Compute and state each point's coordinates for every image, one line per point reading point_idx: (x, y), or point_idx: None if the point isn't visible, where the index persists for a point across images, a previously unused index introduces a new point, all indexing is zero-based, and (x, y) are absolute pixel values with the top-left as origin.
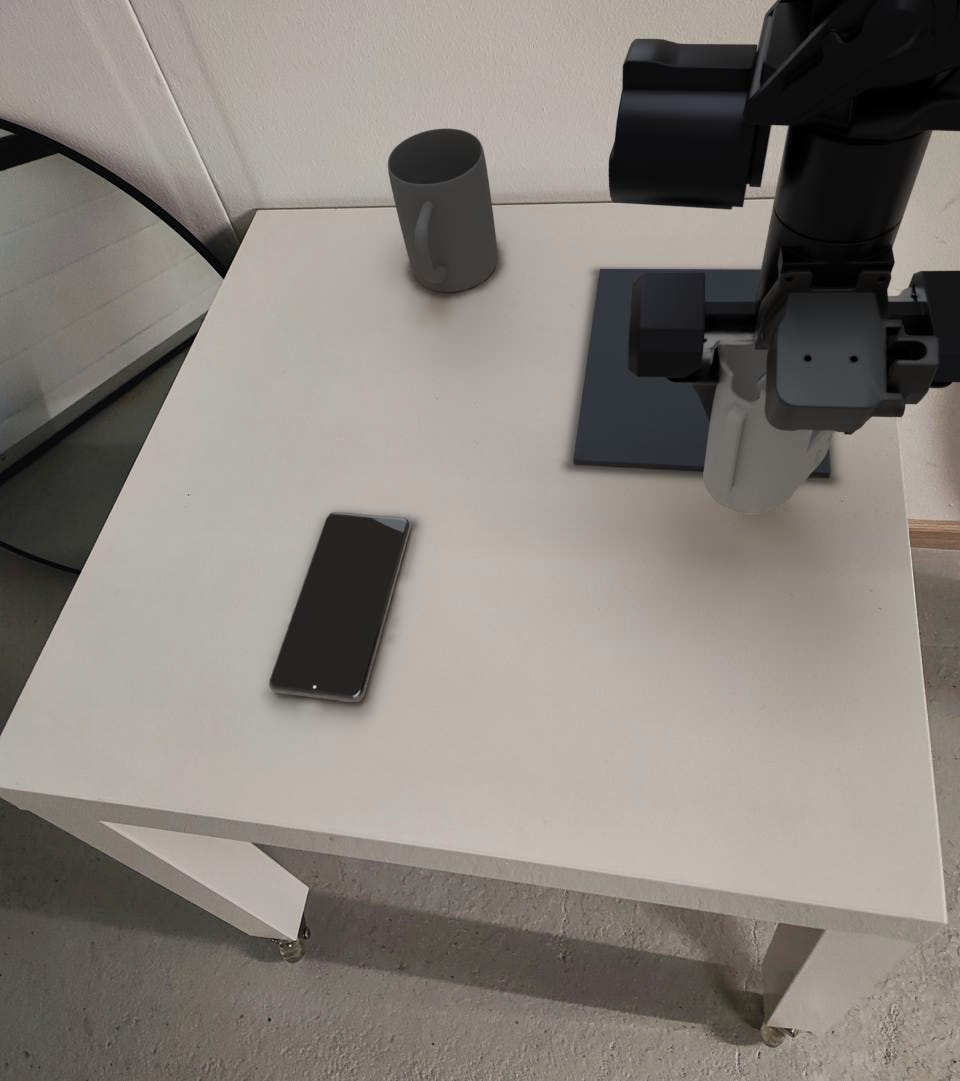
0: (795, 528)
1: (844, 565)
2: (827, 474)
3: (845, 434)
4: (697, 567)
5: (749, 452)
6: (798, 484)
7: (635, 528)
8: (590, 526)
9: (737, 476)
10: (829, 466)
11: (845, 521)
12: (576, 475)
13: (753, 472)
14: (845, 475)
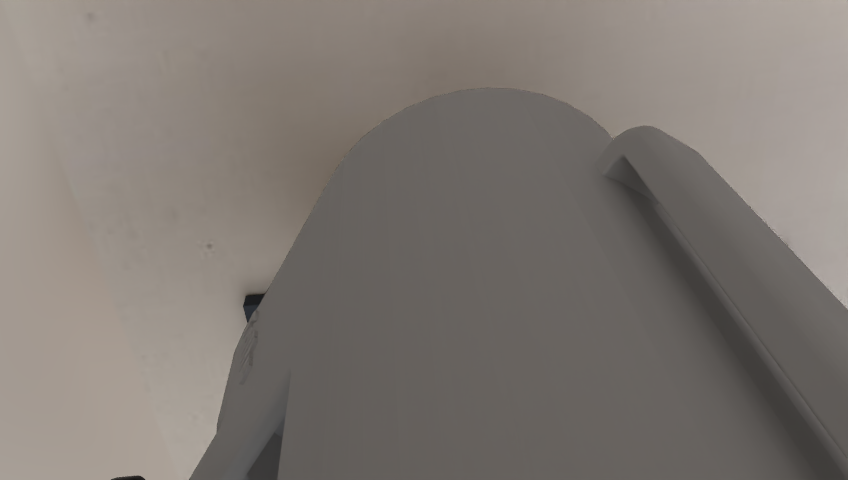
0: (296, 164)
1: (168, 81)
2: (249, 301)
3: (135, 476)
4: (520, 17)
5: (671, 356)
6: (304, 237)
7: (668, 109)
8: (778, 98)
9: (616, 210)
10: (247, 319)
11: (191, 198)
12: (789, 227)
13: (561, 235)
14: (213, 304)
